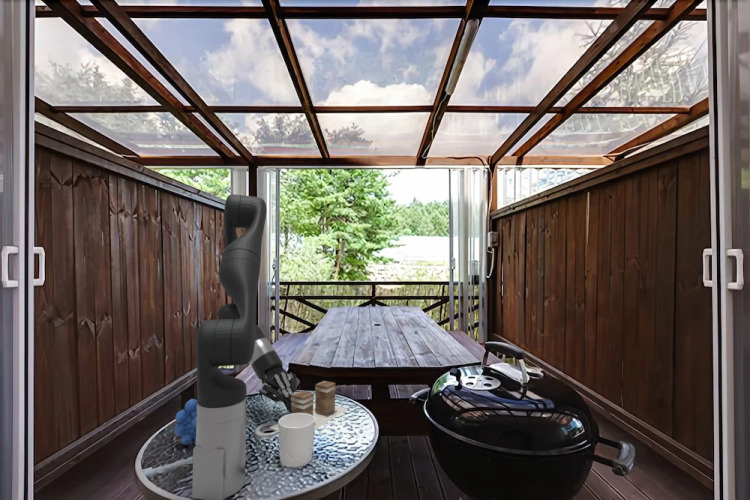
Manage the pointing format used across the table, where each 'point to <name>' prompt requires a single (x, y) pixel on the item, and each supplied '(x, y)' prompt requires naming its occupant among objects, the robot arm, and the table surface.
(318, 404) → the one band post
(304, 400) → the two band post
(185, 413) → the grapes
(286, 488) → the table surface
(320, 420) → the white rectangular board
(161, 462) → the table surface
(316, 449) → the table surface
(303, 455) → the white cup
